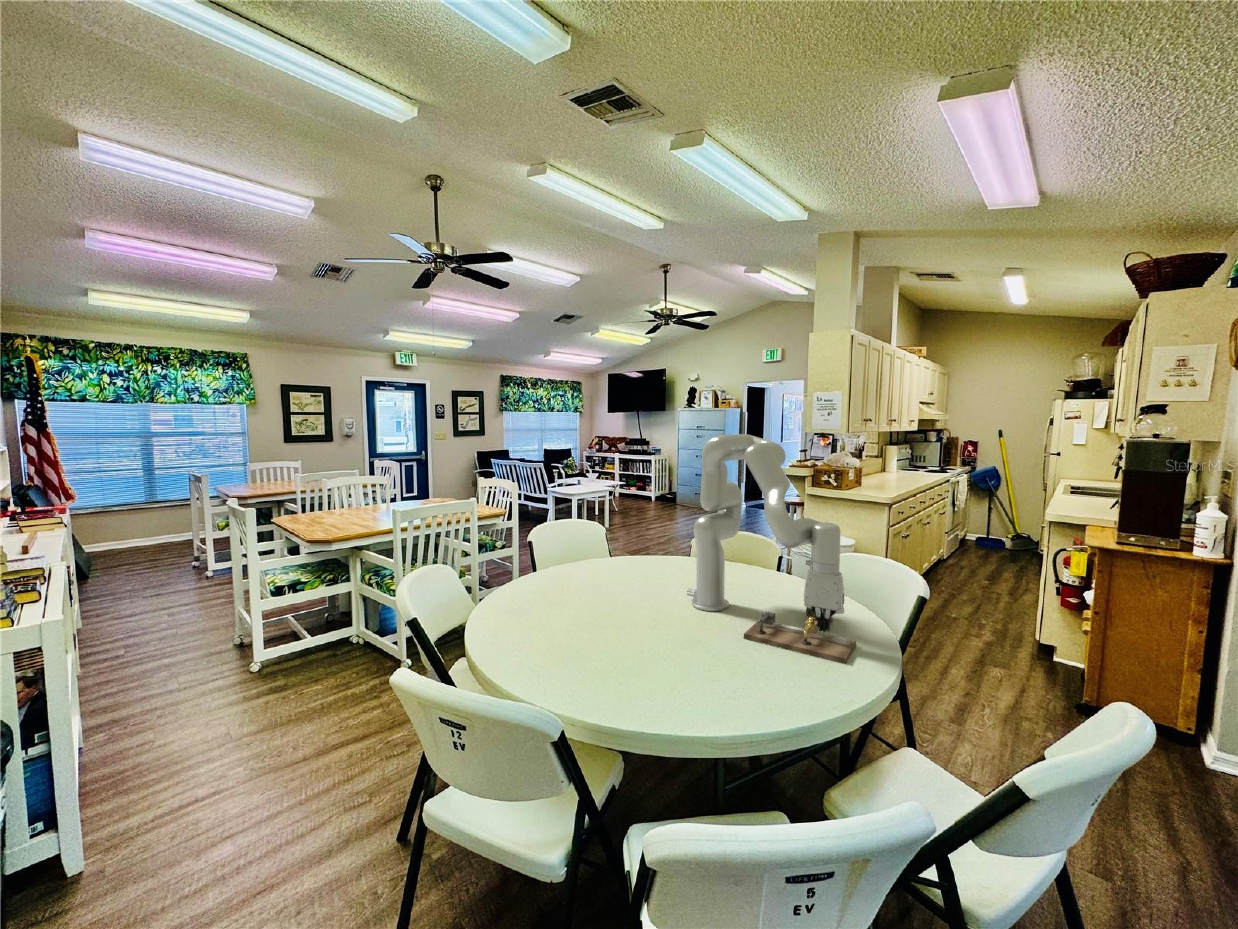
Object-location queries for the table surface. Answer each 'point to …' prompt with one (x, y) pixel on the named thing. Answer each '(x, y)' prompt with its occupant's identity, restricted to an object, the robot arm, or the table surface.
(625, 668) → the table surface
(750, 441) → the robot arm
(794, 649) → the plate
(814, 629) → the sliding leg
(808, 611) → the sculpture
